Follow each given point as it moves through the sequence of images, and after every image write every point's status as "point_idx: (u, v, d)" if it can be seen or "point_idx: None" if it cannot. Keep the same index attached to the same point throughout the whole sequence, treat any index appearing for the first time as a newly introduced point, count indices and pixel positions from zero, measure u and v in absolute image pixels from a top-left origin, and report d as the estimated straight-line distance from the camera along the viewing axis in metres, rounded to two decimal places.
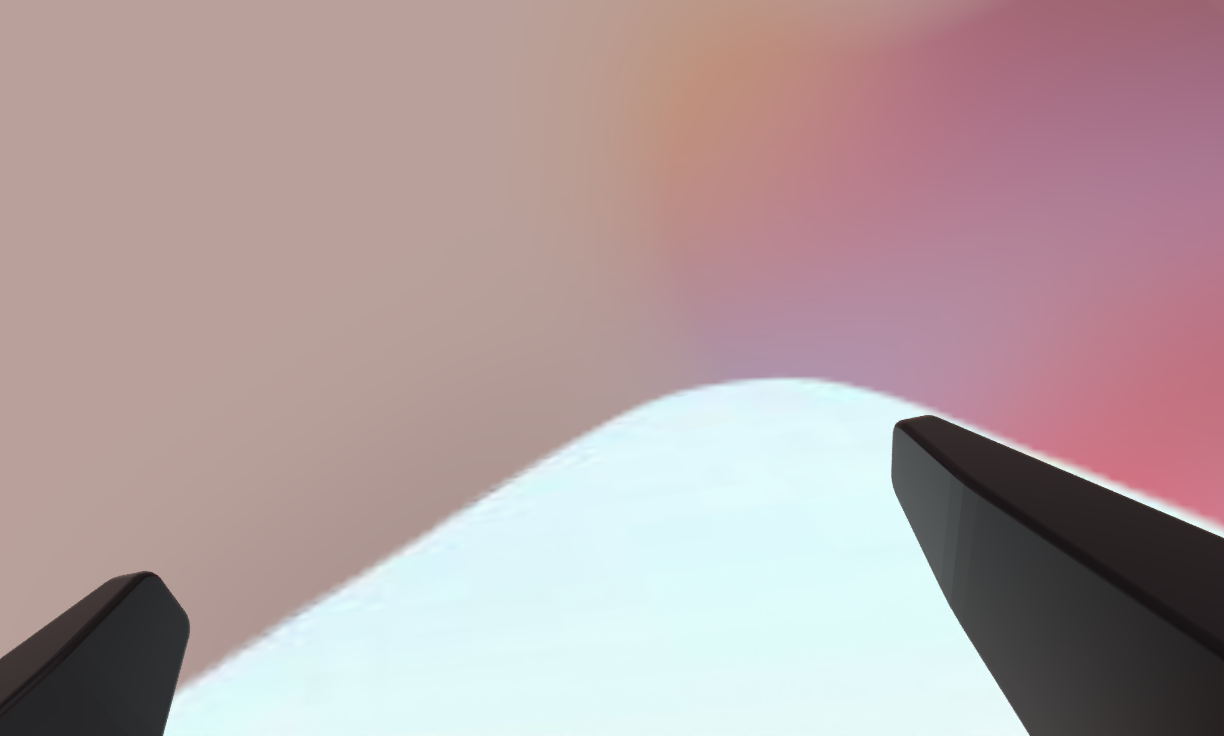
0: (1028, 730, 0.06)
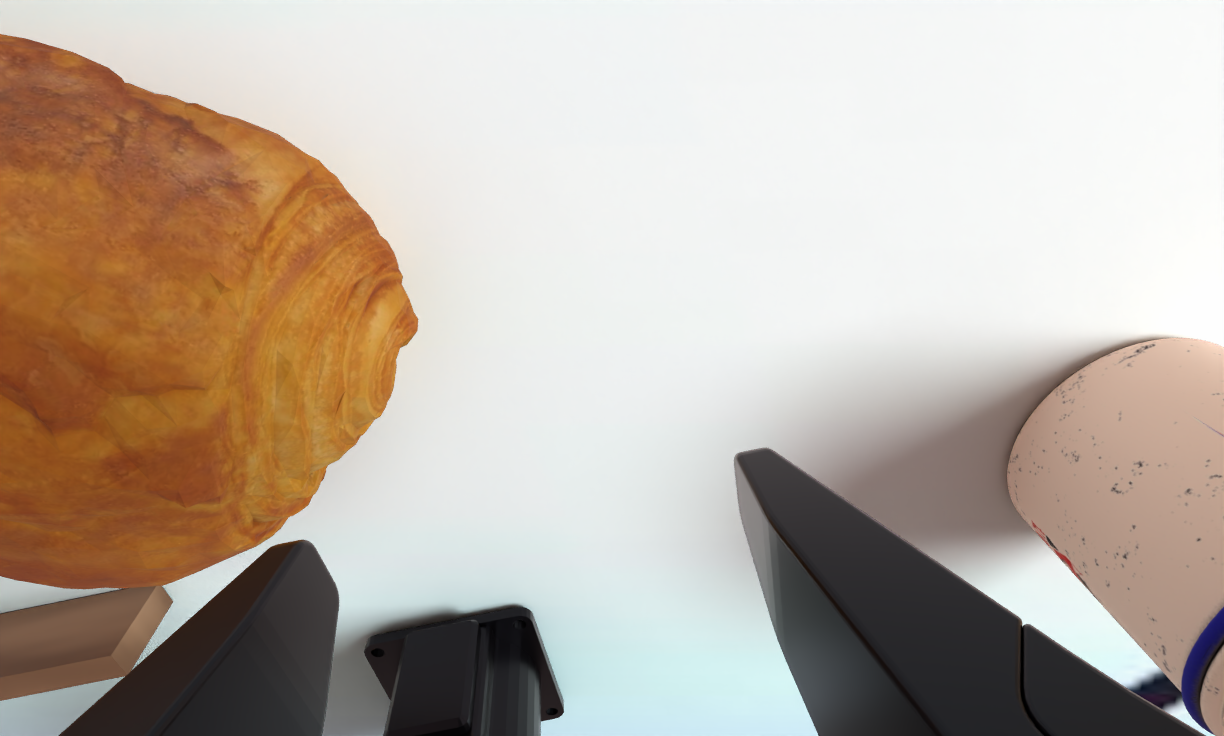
0: None
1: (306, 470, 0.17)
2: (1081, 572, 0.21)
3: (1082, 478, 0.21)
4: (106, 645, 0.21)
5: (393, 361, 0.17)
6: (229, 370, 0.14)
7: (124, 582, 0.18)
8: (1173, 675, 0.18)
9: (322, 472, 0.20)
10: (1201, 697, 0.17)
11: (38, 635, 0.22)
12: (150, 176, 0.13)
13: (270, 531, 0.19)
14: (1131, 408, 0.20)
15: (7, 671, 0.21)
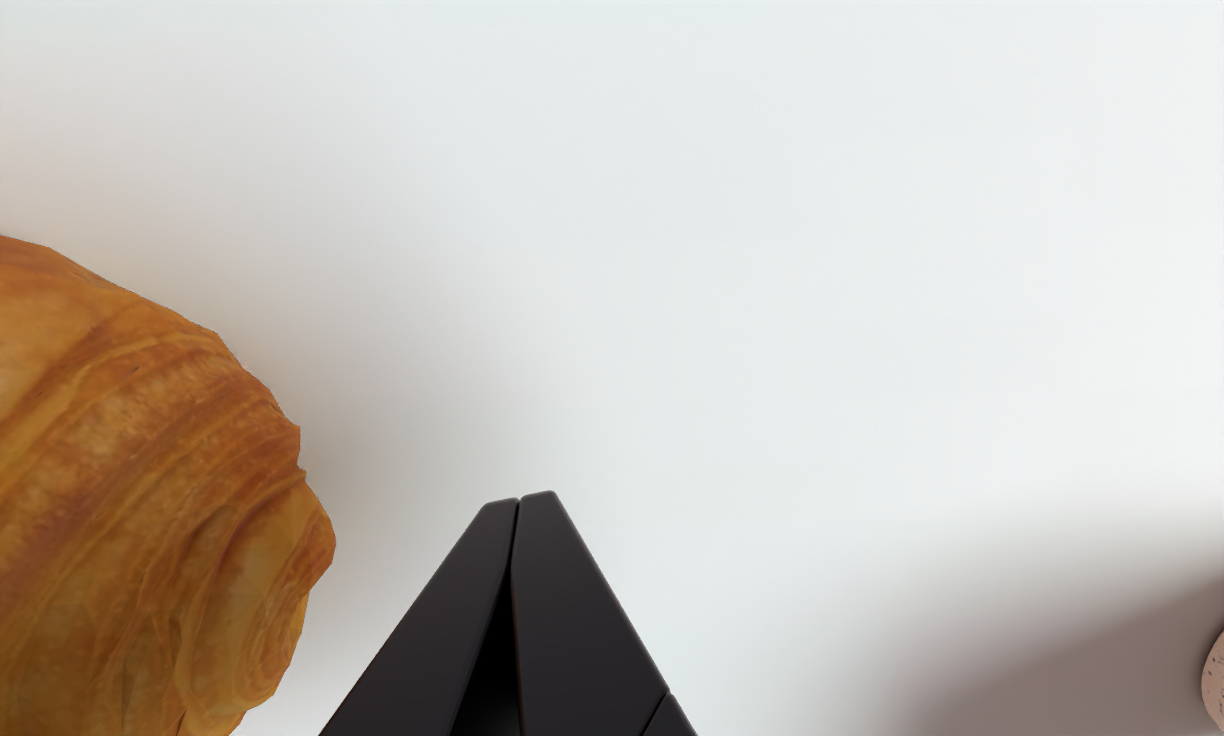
0: None
1: None
2: None
3: None
4: None
5: (283, 633, 0.09)
6: None
7: None
8: None
9: None
10: None
11: None
12: None
13: None
14: None
15: None
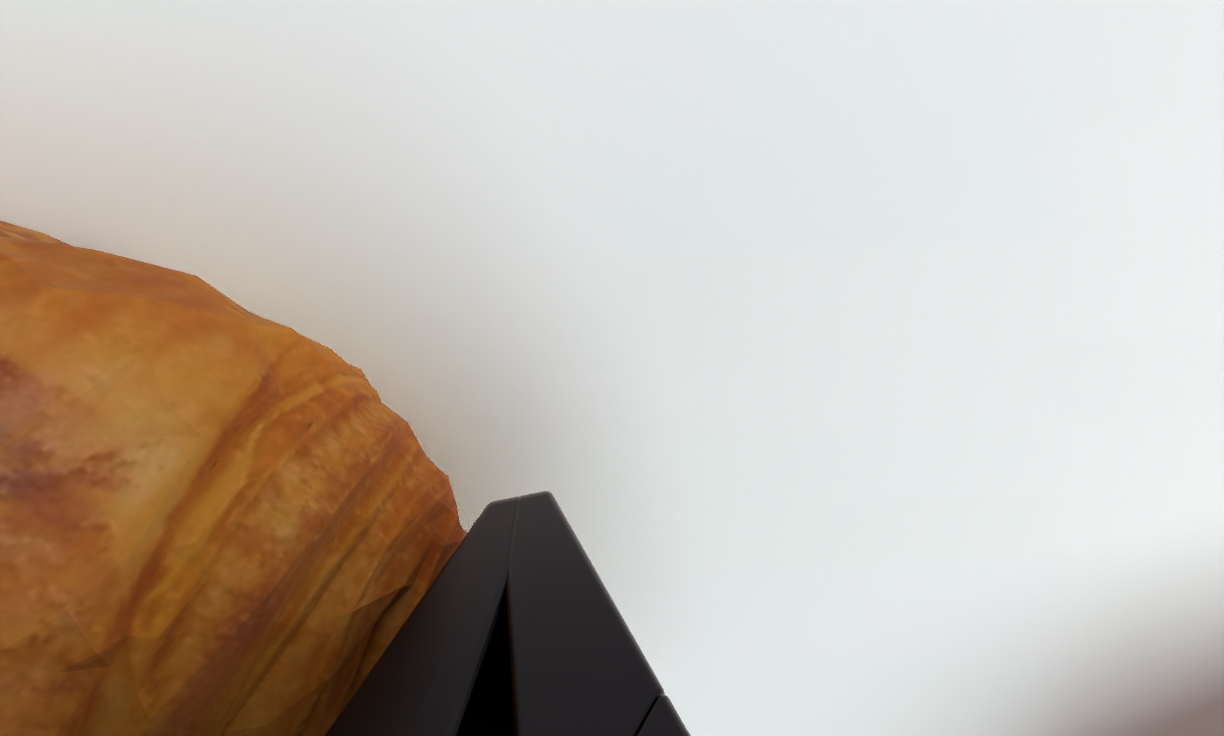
0: None
1: None
2: None
3: None
4: None
5: None
6: None
7: None
8: None
9: None
10: None
11: None
12: None
13: None
14: None
15: None
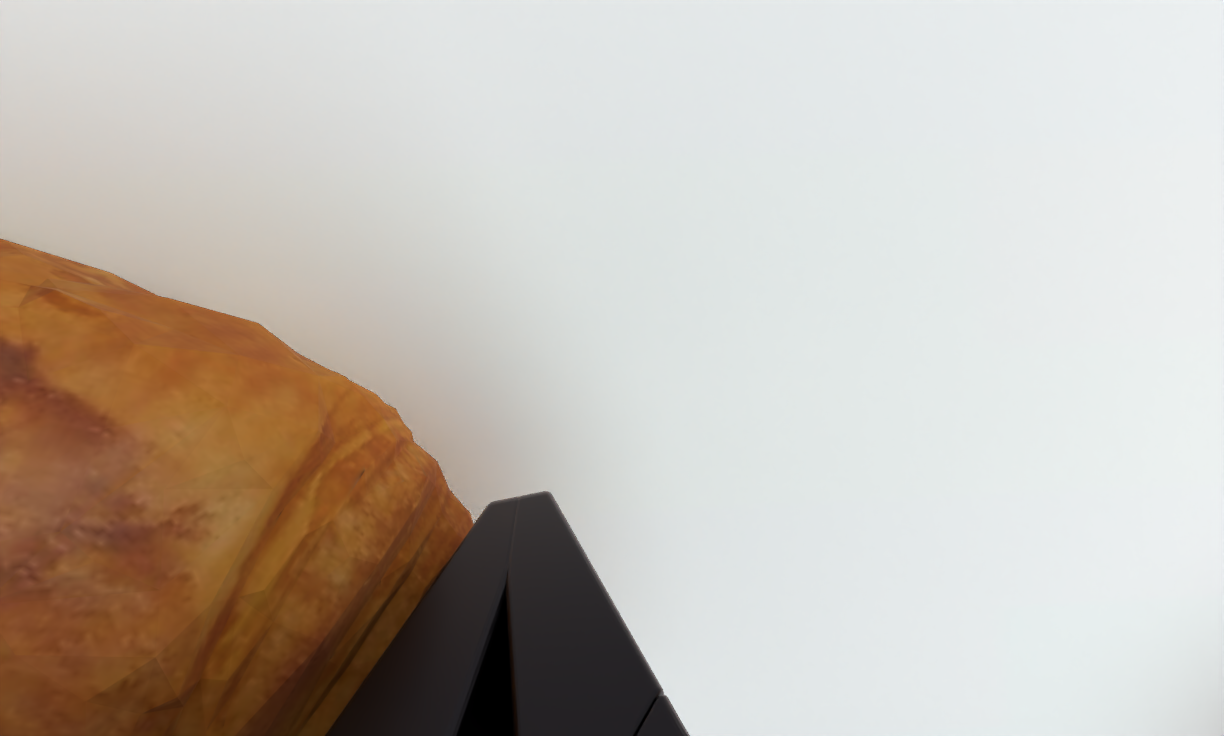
0: None
1: None
2: None
3: None
4: None
5: None
6: None
7: None
8: None
9: None
10: None
11: None
12: None
13: None
14: None
15: None
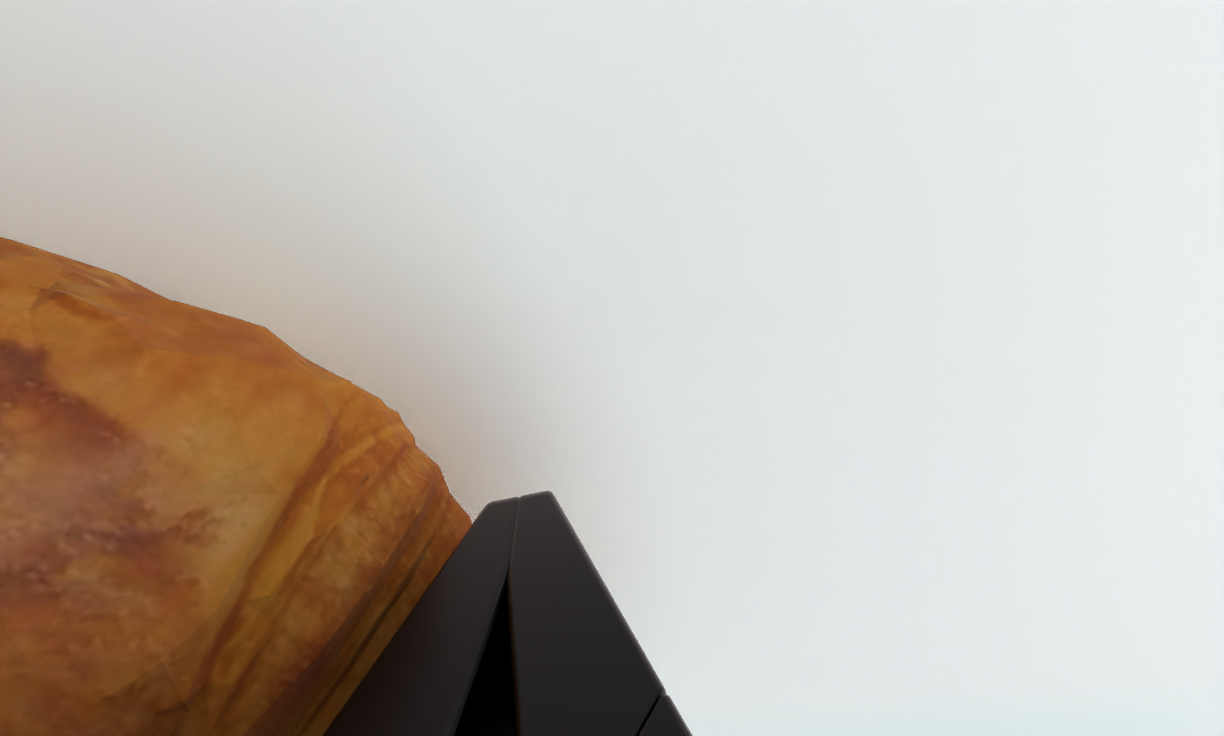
0: None
1: None
2: None
3: None
4: None
5: None
6: None
7: None
8: None
9: None
10: None
11: None
12: None
13: None
14: None
15: None
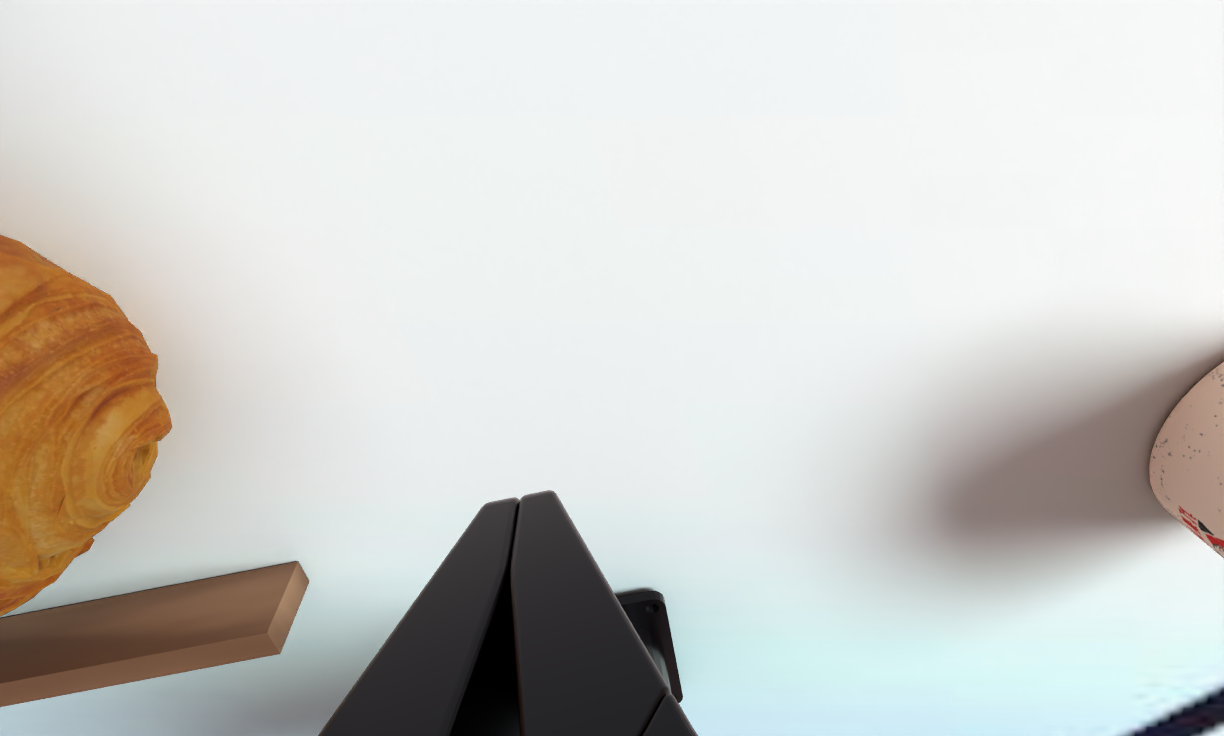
0: None
1: (30, 560, 0.17)
2: None
3: None
4: (259, 623, 0.21)
5: (127, 464, 0.17)
6: None
7: None
8: None
9: (75, 549, 0.20)
10: None
11: (183, 613, 0.22)
12: None
13: (10, 605, 0.19)
14: None
15: (159, 648, 0.21)
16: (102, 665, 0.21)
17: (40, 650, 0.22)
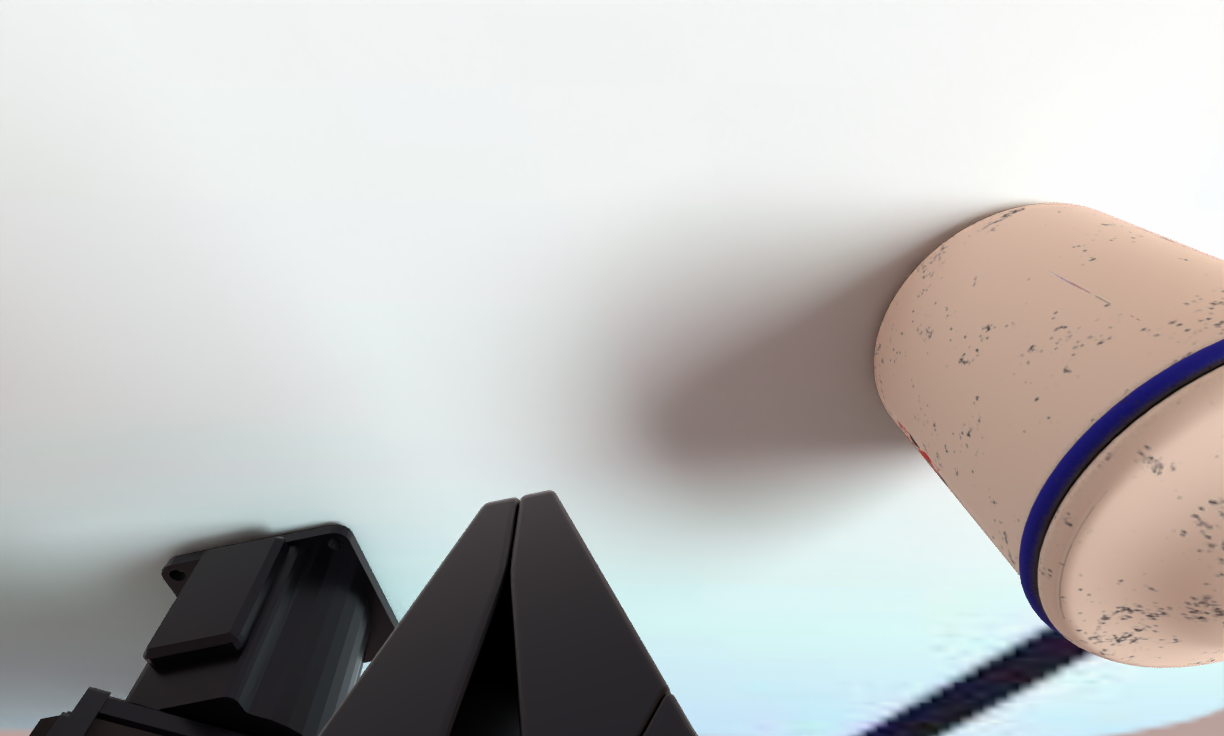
0: None
1: None
2: (937, 467, 0.19)
3: (933, 354, 0.18)
4: None
5: None
6: None
7: None
8: (1017, 567, 0.16)
9: None
10: (1038, 585, 0.14)
11: None
12: None
13: None
14: (986, 271, 0.18)
15: None
16: None
17: None
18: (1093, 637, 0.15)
